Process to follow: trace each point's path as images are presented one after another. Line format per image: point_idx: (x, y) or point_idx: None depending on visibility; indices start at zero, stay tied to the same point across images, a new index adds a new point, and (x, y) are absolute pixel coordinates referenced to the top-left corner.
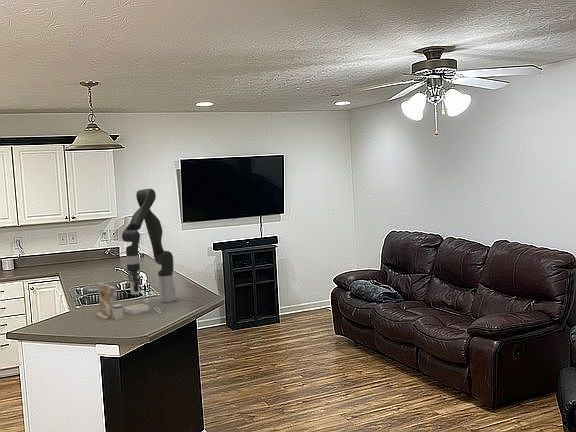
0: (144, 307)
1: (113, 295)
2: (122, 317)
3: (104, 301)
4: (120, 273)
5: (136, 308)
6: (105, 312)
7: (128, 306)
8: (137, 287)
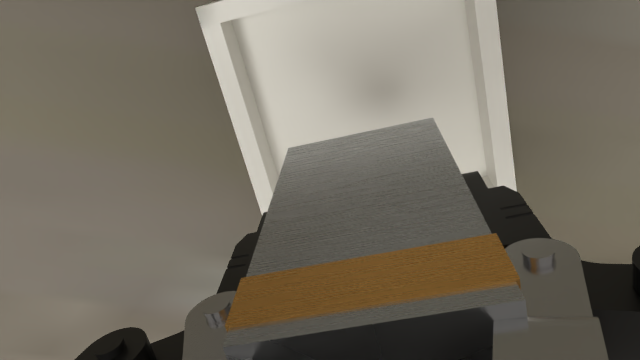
0: (497, 16)
1: None
2: None
3: None
4: None
5: (250, 87)
6: None
7: (258, 198)
8: (539, 236)
